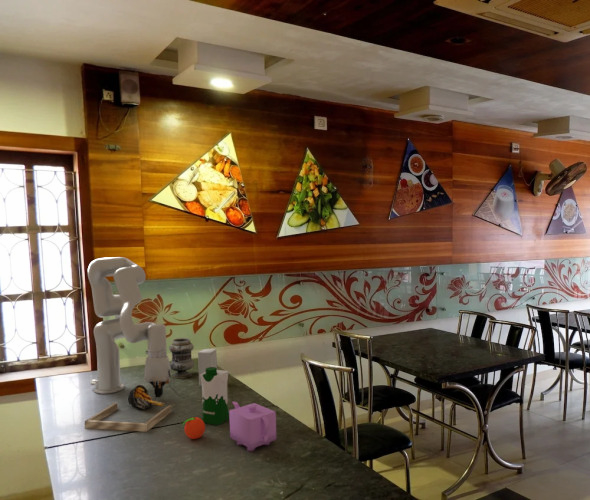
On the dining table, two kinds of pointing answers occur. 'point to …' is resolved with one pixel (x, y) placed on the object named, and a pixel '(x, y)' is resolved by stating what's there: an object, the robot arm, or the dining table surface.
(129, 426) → the serving frame
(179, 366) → the apothecary jar
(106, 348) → the robot arm
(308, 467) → the dining table surface
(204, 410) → the milk carton
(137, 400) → the fried shrimp in bowl
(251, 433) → the teapot
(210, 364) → the skincare box
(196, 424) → the clementine
